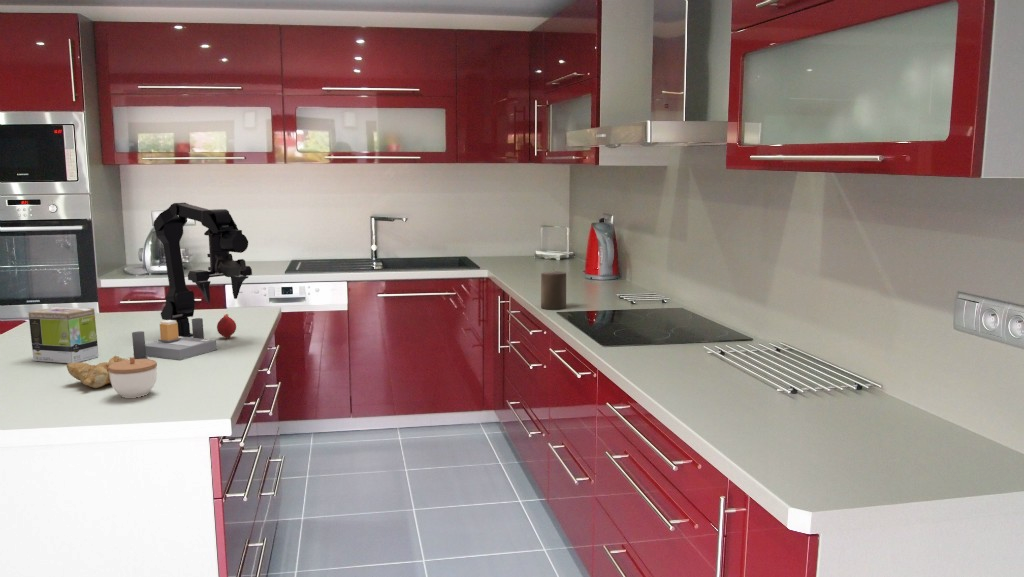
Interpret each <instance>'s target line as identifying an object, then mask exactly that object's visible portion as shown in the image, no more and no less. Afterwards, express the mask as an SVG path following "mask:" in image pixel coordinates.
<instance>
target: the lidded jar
mask: <svg viewBox="0 0 1024 577" xmlns="http://www.w3.org/2000/svg"><path fill="white" fill-rule="evenodd" d="M157 366H158V362H157V361H156V360H154V359H149V358H147V359H134V356H130V357H129V359H128V360H126V361H120V362H116V363H113V364H111V365H109V367H108V370H109V375H110V381H111V384H110V385H111V387H112V389H113V390H114V391H115V393H117V395H120V396H122V397H125V398H124V399H137V398H136V397H138V398H142V397H141V396H143V397H145V396H144V395H146V396H148V395H149V394H150V392H151V391H152V389H153V388H154V387H155V384H156V382H157V375H158V371H157V369H158V368H157ZM148 393H149V394H148ZM147 394H148V395H147ZM122 397H121V398H122Z"/></svg>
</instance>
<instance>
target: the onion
mask: <svg viewBox="0 0 1024 577" xmlns="http://www.w3.org/2000/svg"><path fill="white" fill-rule="evenodd" d="M216 330H217V332H218V334H219V335H220V336H221V337H223V338H225V339H229V338H230V337H231V336H233V334H235V332H236V331H237V324H236V322H235V320H234V319H233V318H232V317H230V316H229V314H228V313H226V314H223V317H222V318H220V320H219V321H218V322H217V325H216Z"/></svg>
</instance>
